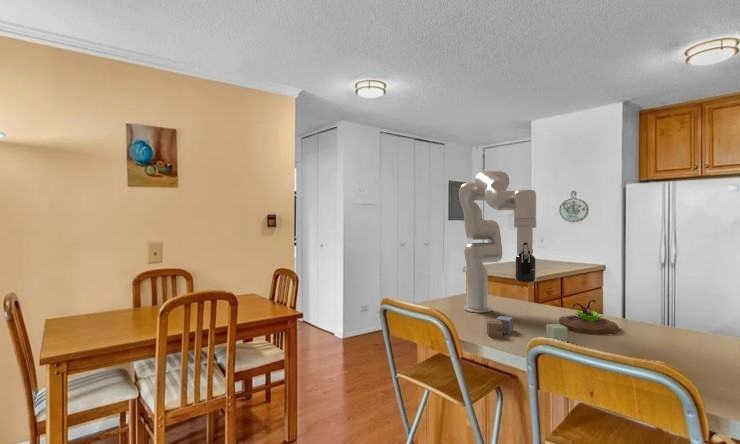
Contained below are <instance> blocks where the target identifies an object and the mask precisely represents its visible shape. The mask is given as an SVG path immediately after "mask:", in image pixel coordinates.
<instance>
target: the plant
mask: <svg viewBox="0 0 740 444" xmlns="http://www.w3.org/2000/svg"><path fill="white" fill-rule="evenodd" d="M591 302H592V303H593V304H594V305H597V304H598V301H597V300H596V299H590V300H589V301H588V302H587V304H586V308H585V307H584V306H583V305H582V304H580V303H578V302H577V303H572V304H571V305H570V307H571V308H572V309H574V308H575V307H576V305H577V306H579V308H581V310H582V311H580V310H578V309H575V310H576V313H575V315H574V314H573V315H566V316H559V318H558V320H559V321H558V324H561V325H563V326H565V327H567V328H568V332H572V333H577V334H587V335H608V334H612V335H616V334H617V333H618V332H619V325H618V324H617V323H616V322H615V321H612V320H610V319H608V318H603V316H604V314H603V313H602V314H598V311H595V310H592V309H591V308H590V307H591V306H590V305H591Z"/></svg>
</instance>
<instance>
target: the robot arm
mask: <svg viewBox="0 0 740 444" xmlns="http://www.w3.org/2000/svg"><path fill="white" fill-rule="evenodd" d="M509 186H510V177H509V175H508V173H506V172H505V171H501V170H500V171H496V170H492V171H491V170H490V171H489V170H488V171H487V170H485V171H481V172H479V173H478V174H477V175H476V176H475V179H474V181H473V182H466V183H463V184H461V186H460V187H459V191H458V201H459V203H460V206H461V208H462V212H463V219H464V229H465V231H464V232H465V236H466V238H467V239H468V240H470V241H472V240H473V241H487V242H471V243H468V244H467V245H465V247H464V250H463V252H464V259H465V264H466V265H465V266H466V267H465V268H466V305H463V310H464V311H466V312H471V313H480V314H481V313H483V314H484V313H489V312H492V307H491V306H489V292H488V291H489V290H488V289H489V287H488V286H489V285H488V284H489V281H488V278H489V277H488V276H489V275H488V271H487V268H486V267H485V266H484V264H486V263H487V264H488V263H498V262H500V261H501V260H502V258H503V243H502V235H501V229H500V226H499V224H498V222H497V221H496V220H493V219H484V217H483V211H482V209H481V207H480V206H479V204H478V203H477V202H475V201H485V203H486V204H487V205H488V206H489V207H491V208H492V209H494V210H496V211H513V228H514V229H515V228H516V254H517V255H519V254H521V256H522V263H521V274H530V273H531V263H530V255H531V254H532V255H533V253H532V249H533V244H534V243H533V242H534V241H533V240H534V238H533V237H534V236H533V235H534V231H533V230H534V228H535V229H536V228H537V192H536V191H535V190H533V189H519V190H507V189H508V188H509ZM523 253H524V254H523Z"/></svg>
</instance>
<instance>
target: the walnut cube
mask: <svg viewBox="0 0 740 444" xmlns="http://www.w3.org/2000/svg"><path fill="white" fill-rule="evenodd" d="M486 334H487V336H488V337H492V338H504V337H503V336H504V333H503V324H502V322H501V320H496V319H486Z"/></svg>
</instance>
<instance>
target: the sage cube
mask: <svg viewBox="0 0 740 444" xmlns="http://www.w3.org/2000/svg"><path fill="white" fill-rule="evenodd" d="M568 333H569V330H568V328H567V327H565V326H563V325H561V324H560V323H551V324H548V323H547V324H546V325H545V338H546V337H547V338H553V339H557V340H561V341H566V342H565V343H568V342H569V335H568ZM547 338H546V339H547Z"/></svg>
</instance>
